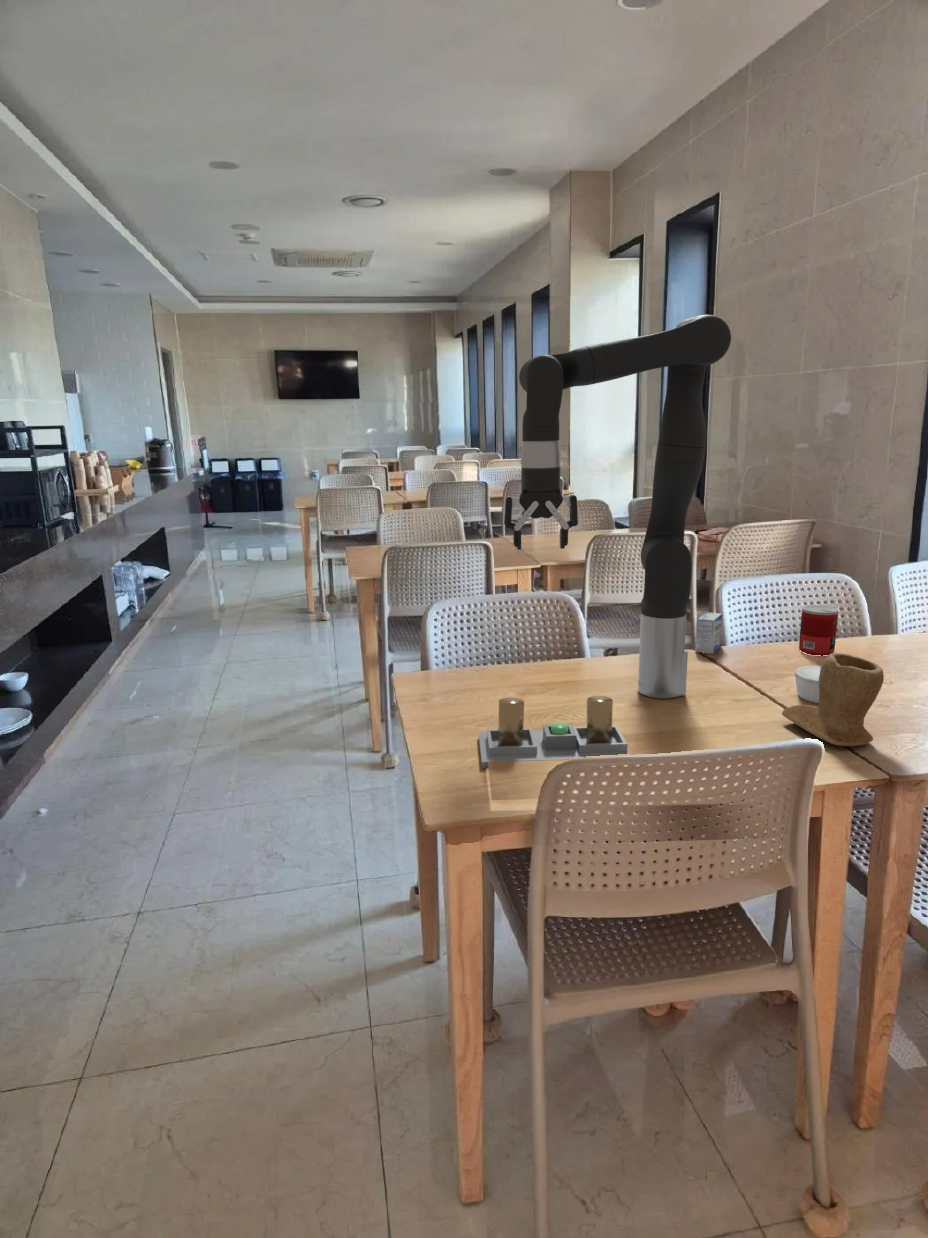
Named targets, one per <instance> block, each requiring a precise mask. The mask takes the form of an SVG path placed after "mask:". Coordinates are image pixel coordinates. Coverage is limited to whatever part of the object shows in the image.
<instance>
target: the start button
mask: <svg viewBox="0 0 928 1238" xmlns="http://www.w3.org/2000/svg"><path fill="white" fill-rule="evenodd" d="M550 725H551V734H568V725H566V723H563V722H561V723H560V722H558V723H557V722H556V723H553V724H550Z"/></svg>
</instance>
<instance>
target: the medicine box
mask: <svg viewBox="0 0 928 1238" xmlns="http://www.w3.org/2000/svg"><path fill="white" fill-rule="evenodd" d="M695 623H696V625H695V627H696V628H695V649H694V650H696V651H695V653H699V652H704V653H703V654H706V655H707V654H709V655H713V654H715V653H716V651H718V649H719V648H720V647H722V631H723V630H722V629H723V613H720V612H719V613H718V612H717V613H715V612H704V614H702V615H701V616H700V617H698V618H697V619H696V622H695Z"/></svg>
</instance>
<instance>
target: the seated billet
mask: <svg viewBox="0 0 928 1238" xmlns="http://www.w3.org/2000/svg"><path fill="white" fill-rule="evenodd" d="M613 703H614V701H613V699H612V698H611V697H609V696H606V695H592V696H589V697H588V698H587V699H586V727H587V735H586V743H587V744H598V743H612V726H613V705H614V704H613Z"/></svg>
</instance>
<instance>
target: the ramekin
mask: <svg viewBox="0 0 928 1238" xmlns="http://www.w3.org/2000/svg"><path fill="white" fill-rule="evenodd" d="M820 669H821V665H805V666H804V665H803V666H800V667H798V668H796V669H795V671H794V678H795V684H796V685H795V686H796V692H797V694H798V696H799V697H800V698H801V699H802V698H803V700H804V699H805V701H806V700H807V702H809V701H810V703H812V702H814V703H813V704H817V703H819V675H820Z"/></svg>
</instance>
